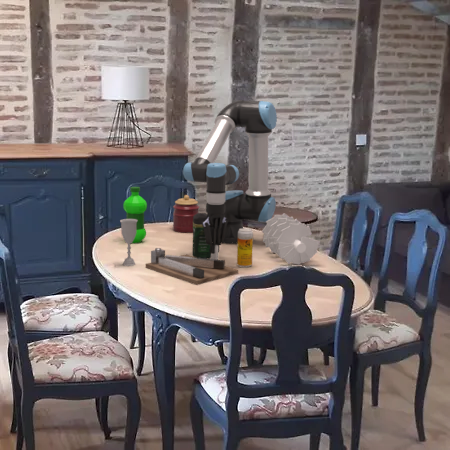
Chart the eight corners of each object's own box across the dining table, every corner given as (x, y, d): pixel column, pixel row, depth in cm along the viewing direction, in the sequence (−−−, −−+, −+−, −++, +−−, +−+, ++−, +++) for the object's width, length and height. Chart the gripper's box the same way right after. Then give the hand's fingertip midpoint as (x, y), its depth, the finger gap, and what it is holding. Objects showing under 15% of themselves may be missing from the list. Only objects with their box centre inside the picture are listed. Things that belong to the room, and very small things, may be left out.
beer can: (241, 268, 276) (242, 232, 273) (234, 264, 281) (235, 228, 278) (254, 266, 279) (255, 230, 276) (247, 262, 284) (248, 227, 281)
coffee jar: (212, 259, 288) (213, 216, 284) (193, 260, 286) (194, 216, 282) (209, 253, 297) (210, 211, 293) (191, 254, 296) (191, 211, 292)
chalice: (129, 267, 274) (129, 223, 270) (116, 264, 277) (116, 221, 273) (141, 263, 280) (141, 220, 276) (128, 260, 283) (128, 218, 279)
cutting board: (186, 257, 290) (186, 254, 289) (238, 273, 269) (238, 269, 269) (145, 267, 274) (145, 263, 274) (196, 284, 254) (196, 280, 253)
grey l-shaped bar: (151, 263, 275) (151, 248, 274) (160, 260, 279) (160, 247, 277) (199, 279, 256) (200, 264, 255) (209, 276, 259) (209, 261, 258)
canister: (199, 233, 333) (199, 197, 329) (172, 233, 333) (172, 197, 329) (199, 227, 346) (200, 192, 342) (173, 227, 345) (173, 192, 342)
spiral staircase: (289, 276, 281) (268, 257, 304) (326, 256, 283) (302, 239, 306) (273, 238, 274) (253, 222, 297) (311, 218, 277) (288, 203, 300)
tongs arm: (165, 263, 274) (165, 256, 273) (166, 262, 276) (166, 254, 275) (223, 269, 268) (223, 261, 268) (224, 267, 270) (224, 260, 270)
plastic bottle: (147, 244, 311) (147, 189, 305) (123, 244, 309) (123, 189, 304) (146, 238, 321) (146, 185, 315) (123, 239, 319) (123, 185, 313)
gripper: (220, 199, 277) (219, 256, 282) (197, 203, 268) (196, 261, 273) (234, 202, 272) (232, 260, 277) (210, 206, 263) (209, 265, 268)
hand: (214, 260), depth 275 cm, fingers closed
